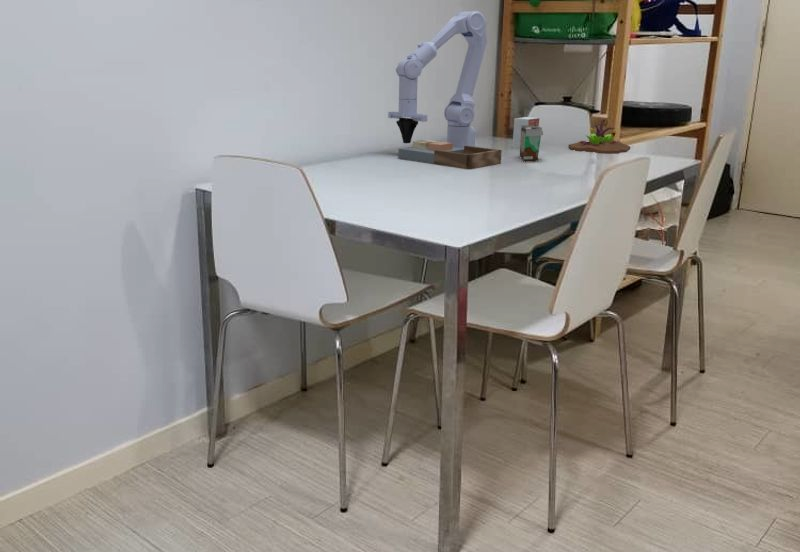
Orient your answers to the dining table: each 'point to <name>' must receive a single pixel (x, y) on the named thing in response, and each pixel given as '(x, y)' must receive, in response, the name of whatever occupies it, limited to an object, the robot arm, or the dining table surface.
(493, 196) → the dining table surface
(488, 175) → the dining table surface
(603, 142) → the plant
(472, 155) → the tray
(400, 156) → the bench plate
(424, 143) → the birch tile
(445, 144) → the terracotta tile
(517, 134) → the small box
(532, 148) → the food container
